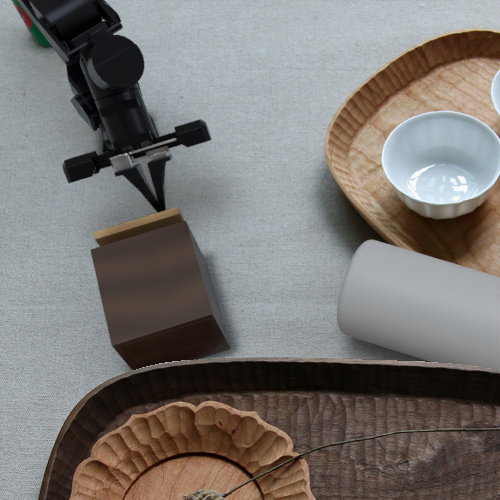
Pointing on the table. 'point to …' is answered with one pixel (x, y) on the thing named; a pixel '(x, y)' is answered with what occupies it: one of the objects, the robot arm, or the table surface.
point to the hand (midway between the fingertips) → (163, 215)
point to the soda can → (31, 25)
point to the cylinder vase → (421, 306)
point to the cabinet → (159, 298)
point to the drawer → (138, 226)
